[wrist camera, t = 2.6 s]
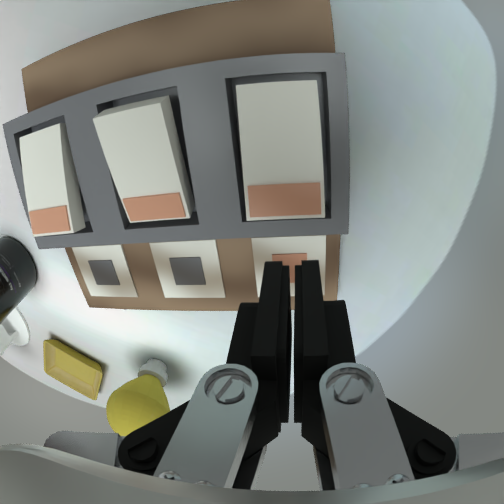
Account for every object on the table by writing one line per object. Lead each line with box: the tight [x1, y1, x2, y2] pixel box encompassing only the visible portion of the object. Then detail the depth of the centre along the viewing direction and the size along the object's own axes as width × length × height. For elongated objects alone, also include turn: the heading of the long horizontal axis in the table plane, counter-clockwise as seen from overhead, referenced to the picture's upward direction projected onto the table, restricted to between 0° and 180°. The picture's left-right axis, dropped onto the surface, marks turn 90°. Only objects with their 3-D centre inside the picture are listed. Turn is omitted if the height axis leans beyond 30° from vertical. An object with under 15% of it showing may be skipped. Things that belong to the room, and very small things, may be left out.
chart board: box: [22, 0, 340, 311], centre depth 21 cm, size 22×22×2 cm
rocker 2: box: [93, 95, 195, 223], centre depth 17 cm, size 7×4×2 cm, turn 6°
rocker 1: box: [19, 123, 85, 237], centre depth 18 cm, size 7×4×2 cm, turn 6°
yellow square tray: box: [43, 339, 103, 400], centre depth 36 cm, size 9×9×2 cm
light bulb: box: [106, 359, 170, 436], centre depth 29 cm, size 7×7×10 cm
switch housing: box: [3, 53, 350, 249], centre depth 18 cm, size 10×22×3 cm, turn 96°
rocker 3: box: [236, 80, 325, 221], centre depth 16 cm, size 7×4×2 cm, turn 6°
